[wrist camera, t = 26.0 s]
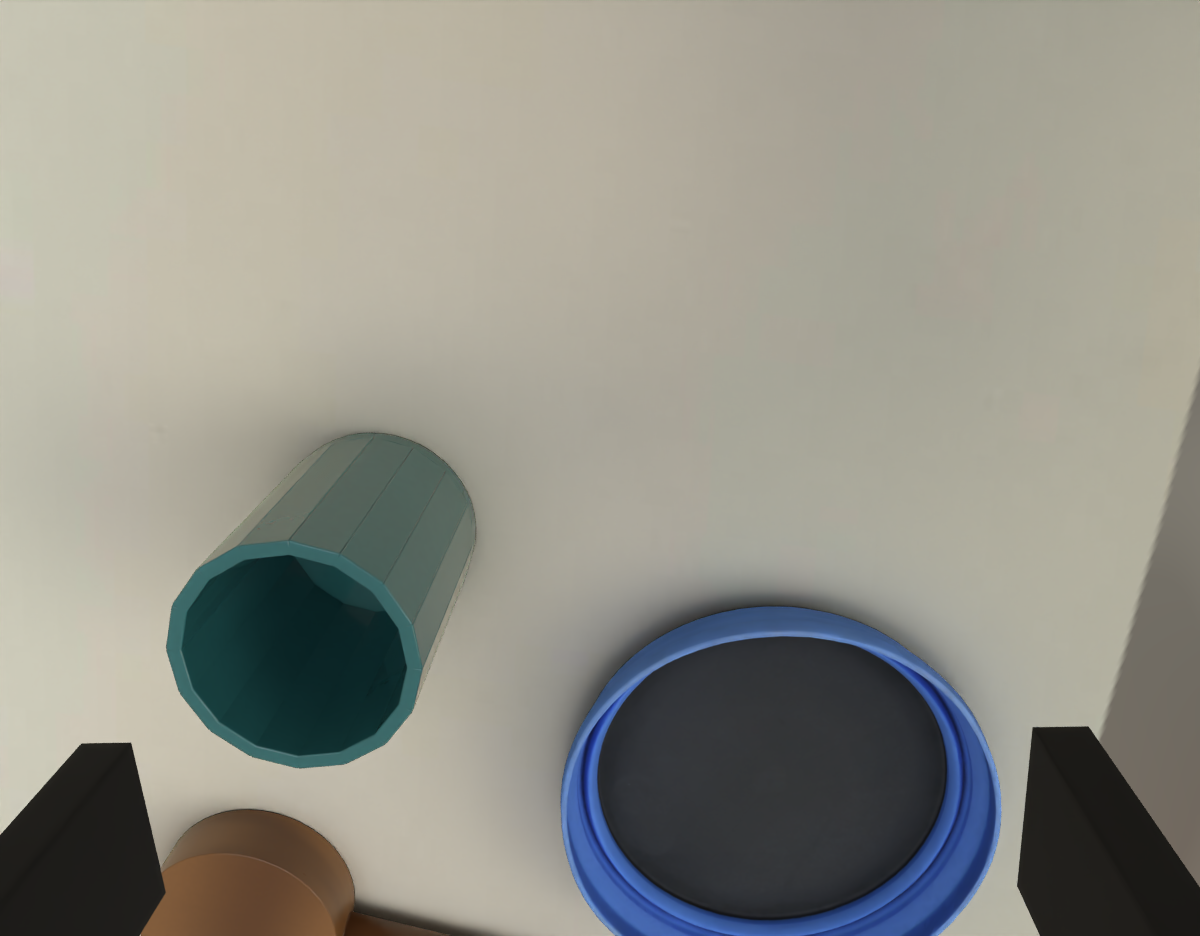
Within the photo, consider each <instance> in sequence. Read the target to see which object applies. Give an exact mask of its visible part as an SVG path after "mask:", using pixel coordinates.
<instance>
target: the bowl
mask: <svg viewBox="0 0 1200 936" xmlns="http://www.w3.org/2000/svg"><path fill="white" fill-rule="evenodd" d="M561 822H562V832H563V840H564V845H565V850H566V854H567V858H568V862H569V865H570V868H571V871H572V874H573V876H574V879H575V881H576V883H577V885H578V888H579V889H580V891H581V893H582V895H583V897H584V899H585V900H586V902H587V903H588V905H589V906H590V908H591V909H592V911H593V912H594V913H595V915H596V916H597V917H598V918H599V920H600V921H601V922H602V923H603V924H604V925H605V926H606V927H607V928H608V929H609V930H610V931H611V932H612V933H613V934H614V935H615V936H938V935H939V934H940V933H941V932H943V931H944V930H945V929H946V928H947V927H948V926H949V925H950V924H951V923H952V922H953V921H954V919H955V918H956V917H957V916H958V915H959V914H960V912H961V911H962V910H963V909H964V908H965V907H966V905H967V904H968V903H969V901H970V900H971V899H972V897H973V896H974V894H975V893H976V891H977V890H978V888H979V886H980V884H981V883H982V881H983V879H984V877H985V875H986V873H987V871H988V869H989V867H990V865H991V862H992V860H993V857H994V853H995V850H996V846H997V842H998V838H999V832H1000V825H1001V793H1000V785H999V780H998V776H997V771H996V767H995V764H994V761H993V758H992V755H991V752H990V750H989V747H988V745H987V742H986V740H985V737H984V735H983V733H982V730H981V728H980V726H979V724H978V722H977V720H976V719H975V717H974V715H973V714H972V712H971V710H970V709H969V707H968V706H967V705H966V703H965V702H964V701H963V699H962V698H961V697H960V696H959V695H958V693H957V692H956V691H955V690H954V689H953V688H952V687H951V685H950V684H949V683H947V682H946V681H945V680H944V679H943V678H942V677H941V676H940V675H939V674H938V673H937V672H935V671H934V670H933V669H932V668H931V667H930V666H928V665H927V664H926V663H925V662H923V661H922V660H921V659H919V658H918V657H917V656H915V655H914V654H913V653H911V652H909V651H908V650H907V649H906V648H904V647H903V646H902V645H900V644H899V643H898V642H896V641H895V640H893V639H891V638H890V637H888V636H886V635H884V634H883V633H881V632H879V631H877V630H876V629H873V628H871V627H869V626H867V625H864V624H862V623H859V622H857V621H854V620H851V619H848V618H846V617H842V616H839V615H835V614H832V613H827V612H822V611H817V610H812V609H806V608H797V607H773V606H768V607H753V608H744V609H737V610H732V611H726V612H722V613H717V614H714V615H710V616H707V617H704V618H701V619H698V620H695V621H692V622H690V623H687V624H685V625H682V626H680V627H678V628H676V629H674V630H672V631H670V632H668V633H666V634H664V635H663V636H661V637H659V638H658V639H656V640H654V641H653V642H651V643H650V644H648V645H647V646H646V647H644V648H643V649H642V650H640V651H639V652H638V653H636V654H635V655H634V656H633V657H632V658H631V659H630V660H628V661H627V662H626V663H625V664H624V665H623V666H622V667H621V668H620V669H619V670H618V671H617V672H616V674H615V675H614V676H613V677H612V678H611V680H610V681H609V682H608V683H607V685H606V686H605V688H604V689H603V691H602V692H601V693H600V695H599V697H598V699H597V700H596V702H595V704H594V705H593V706H592V708H591V709H590V711H589V713H588V714H587V716H586V718H585V720H584V721H583V723H582V725H581V727H580V729H579V731H578V733H577V735H576V737H575V739H574V741H573V744H572V746H571V749H570V751H569V754H568V758H567V761H566V765H565V769H564V774H563V779H562V788H561Z"/></svg>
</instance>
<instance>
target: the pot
mask: <svg viewBox="0 0 1200 936" xmlns="http://www.w3.org/2000/svg"><path fill="white" fill-rule="evenodd" d="M475 540H476V523H475V515H474V511H473V507H472V503H471V501H470V498H469V496H468V493H467V491H466V489H465V488H464V486H463V484H462V482H461V481H460V479H459V478H458V477H457V475H456V474H455V473H454V471H453V470H452V469H451V468H450V467H449V466H448V465H447V464H446V463H445V462H444V461H443V460H442V459H440V458H439V457H438V456H437V455H435V454H434V453H433V452H431V451H430V450H428V449H426V448H425V447H423V446H421V445H419V444H417V443H415V442H413V441H411V440H408V439H405V438H402V437H398V436H394V435H389V434H382V433H359V434H354V435H348V436H345V437H341V438H338V439H335V440H333V441H331V442H329V443H327V444H325V445H323V446H322V447H320V448H319V449H317V450H316V451H314V452H313V453H312V454H311V455H310V456H309V457H307V458H305V459H304V460H302V461H301V462H300V463H299V464H298V465H297V466H296V467H295V468H294V469H293V470H292V471H291V472H290V473H289V474H288V476H287V477H286V478H285V479H284V480H283V481H282V482H281V483H280V484H279V485H278V486H277V487H276V488H275V489H274V490H273V491H272V492H271V493H270V494H269V495H268V496H267V497H266V498H265V499H264V500H263V501H262V502H261V503H260V504H259V505H258V506H257V507H256V508H255V510H254V511H253V512H252V513H251V514H250V515H249V516H248V517H247V518H246V519H245V520H244V521H243V522H242V523H241V524H240V525H239V526H238V527H237V528H236V529H235V530H234V531H233V532H232V533H231V534H230V535H229V536H228V537H227V538H226V539H225V540H224V541H223V542H222V544H221V545H220V546H219V547H218V548H217V549H216V550H215V551H214V552H213V553H212V554H211V555H210V556H209V557H208V558H207V559H206V560H205V561H204V562H203V563H202V564H201V565H200V566H199V567H198V568H197V569H196V571H195V572H194V573H193V575H192V576H191V578H190V579H189V581H188V582H187V584H186V585H185V587H184V588H183V589H182V591H181V592H180V594H179V595H178V597H177V598H176V600H175V601H174V603H173V605H172V608H171V615H170V623H169V630H168V637H167V645H166V649H167V650H166V651H167V654H168V658H169V661H170V664H171V667H172V671H173V674H174V677H175V680H176V684H177V687H178V690H179V692H180V694H181V696H182V697H183V698H184V699H185V701H186V702H187V703H188V704H189V706H190V707H191V708H192V709H193V711H194V712H195V713H196V714H197V716H198V717H199V718H200V719H201V721H202V722H203V723H204V725H205V726H206V727H207V728H208V729H209V730H210V731H211V732H213V733H214V734H216V735H217V736H219V737H220V738H222V739H224V740H225V741H227V742H228V743H230V744H232V745H233V746H235V747H236V748H238V749H239V750H241V751H243V752H244V753H246V754H247V755H249V756H252V757H254V758H258V759H262V760H266V761H270V762H274V763H278V764H282V765H286V766H290V767H294V768H311V767H322V766H334V765H344V764H347V763H349V762H351V761H353V760H355V759H357V758H359V757H361V756H363V755H365V754H367V753H369V752H371V751H373V750H375V749H377V748H379V747H381V746H383V745H385V744H386V743H387V742H388V741H389V740H390V739H391V737H392V736H393V735H394V734H395V732H396V731H397V730H398V729H399V728H400V726H401V725H402V724H403V723H404V721H405V720H406V719H407V718H408V717H409V715H410V714H411V713H412V711H413V709H414V707H415V704H416V702H417V699H418V697H419V694H420V692H421V689H422V686H423V684H424V681H425V679H426V676H427V674H428V671H429V669H430V666H431V664H432V661H433V658H434V656H435V653H436V651H437V648H438V646H439V643H440V641H441V638H442V636H443V633H444V631H445V628H446V625H447V623H448V620H449V618H450V615H451V613H452V610H453V608H454V605H455V603H456V600H457V597H458V595H459V592H460V590H461V587H462V585H463V582H464V580H465V577H466V575H467V571H468V567H469V563H470V560H471V557H472V554H473V551H474V546H475Z"/></svg>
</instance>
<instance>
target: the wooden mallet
mask: <svg viewBox="0 0 1200 936" xmlns="http://www.w3.org/2000/svg"><path fill="white" fill-rule="evenodd" d="M160 869H161V873H162V878H163V882H164V886H165V890H166V893H165V895H164V897H163V898H162V900H161V901H160V903H159V905H158V906H157V908H156V910H155V911H154V913H153V914H152V916H151V918H150V919H149V921H148V923H147V924H146V926H145V927H144V929H143V931H142V932H141V936H451V935H447V934H443V933H438V932H434V931H430V930H426V929H422V928H418V927H414V926H410V925H406V924H402V923H398V922H393V921H389V920H385V919H381V918H377V917H373V916H369V915H365V914H361V913H357V912H353V910H354V903H355V895H354V887H353V881H352V879H351V876H350V873H349V870H348V868H347V866H346V864H345V862H344V861H343V859H342V858H341V856H340V855H339V853H338V852H337V851H336V850H335V849H334V848H333V846H332V845H331V844H330V843H329V842H328V841H327V840H325V839H324V838H323V837H322V836H321V835H320V834H318V833H317V832H315V831H314V830H313V829H311V828H309V827H308V826H306V825H304V824H302V823H300V822H298V821H296V820H294V819H291V818H289V817H286V816H283V815H280V814H276V813H272V812H266V811H259V810H235V811H228V812H223V813H220V814H216V815H213V816H211V817H208V818H206V819H204V820H202V821H200V822H199V823H197V824H195V825H194V826H192V827H191V828H190V829H189V830H188V831H186V832H185V833H184V834H183V836H182V837H181V838H180V839H179V840H178V842H177V843H176V845H175V846H174V848H173V850H172V851H171V853H170V854H169V856H168V857H167V859H166V861H165V862H164V864H163V865H162V867H161V868H160Z"/></svg>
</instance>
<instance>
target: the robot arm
mask: <svg viewBox="0 0 1200 936" xmlns="http://www.w3.org/2000/svg"><path fill="white" fill-rule="evenodd" d="M1017 887H1018V889H1019V891H1020V893H1021V895H1022V897H1023V900H1024V902H1025V904H1026V906H1027V908H1028V910H1029V913H1030V915H1031V917H1032V919H1033V921H1034V923H1035V926H1036V928H1037V930H1038V932H1039V934H1040V936H1200V887H1199V886H1198V885H1197V883H1196V881H1195V880H1194V878H1193V877H1192V876H1191V874H1190V873H1189V871H1188V870H1187V868H1186V867H1185V865H1184V864H1183V863H1182V861H1181V860H1180V858H1179V857H1178V855H1177V854H1176V853H1175V851H1174V850H1173V848H1172V847H1171V845H1170V844H1169V842H1168V841H1167V840H1166V838H1165V836H1164V835H1163V834H1162V832H1161V831H1160V829H1159V828H1158V827H1157V825H1156V824H1155V822H1154V821H1153V819H1152V818H1151V816H1150V815H1149V813H1148V812H1147V811H1146V809H1145V808H1144V806H1143V805H1142V803H1141V802H1140V800H1139V799H1138V797H1137V796H1136V795H1135V793H1134V792H1133V790H1132V789H1131V787H1130V786H1129V784H1128V783H1127V782H1126V780H1125V779H1124V777H1123V776H1122V775H1121V773H1120V772H1119V770H1118V769H1117V767H1116V766H1115V764H1114V763H1113V761H1112V760H1111V758H1110V757H1109V756H1108V754H1107V753H1106V751H1105V750H1104V748H1103V747H1102V745H1101V744H1100V743H1099V741H1098V740H1097V738H1096V737H1095V735H1094V734H1093V732H1092V731H1091V729H1090V728H1089V727H1033V730H1032V740H1031V750H1030V760H1029V771H1028V781H1027V791H1026V801H1025V811H1024V822H1023V832H1022V842H1021V852H1020V862H1019V873H1018V883H1017ZM165 893H166V890H165V886H164V882H163V878H162V873H161V869H160V865H159V860H158V856H157V852H156V848H155V843H154V839H153V835H152V830H151V826H150V822H149V817H148V813H147V809H146V805H145V800H144V796H143V792H142V787H141V783H140V779H139V775H138V770H137V766H136V762H135V757H134V753H133V749H132V744H131V743H87V744H81V745H80V746H79V747H78V748H77V749H76V750H75V751H74V753H73V754H72V755H71V756H70V757H69V758H68V759H67V760H66V762H65V763H64V764H63V765H62V766H61V767H60V768H59V769H58V771H57V772H56V773H55V774H54V775H53V776H52V777H51V778H50V780H49V781H48V782H47V783H46V784H45V785H44V786H43V788H42V789H41V790H40V791H39V792H38V793H37V794H36V795H35V797H34V798H33V799H32V800H31V801H30V802H29V803H28V804H27V806H26V807H25V808H24V809H23V810H22V811H21V812H20V813H19V815H18V816H17V817H16V818H15V819H14V820H13V821H12V822H11V824H10V825H9V826H8V827H7V828H6V829H5V830H4V831H3V833H2V834H1V835H0V936H140V934H141V932H142V931H143V929H144V927H145V926H146V924H147V923H148V921H149V919H150V918H151V916H152V914H153V913H154V911H155V910H156V908H157V906H158V905H159V903H160V901H161V900H162V898H163V897H164V895H165Z"/></svg>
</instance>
